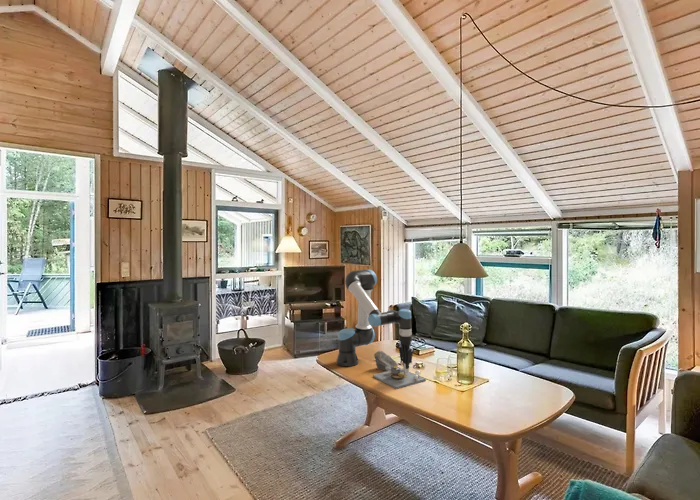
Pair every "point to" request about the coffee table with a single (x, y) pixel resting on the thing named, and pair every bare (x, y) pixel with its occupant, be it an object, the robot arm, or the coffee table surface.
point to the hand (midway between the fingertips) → (406, 373)
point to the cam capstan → (394, 372)
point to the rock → (384, 360)
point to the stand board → (402, 382)
